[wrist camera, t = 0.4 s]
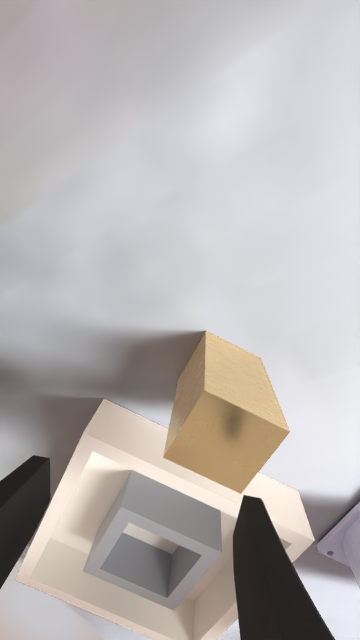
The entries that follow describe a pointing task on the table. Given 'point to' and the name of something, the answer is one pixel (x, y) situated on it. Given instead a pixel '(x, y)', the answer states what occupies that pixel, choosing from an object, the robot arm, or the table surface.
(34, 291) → the table surface
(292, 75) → the table surface
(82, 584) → the walled box
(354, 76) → the table surface
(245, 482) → the wooden plug
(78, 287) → the table surface
